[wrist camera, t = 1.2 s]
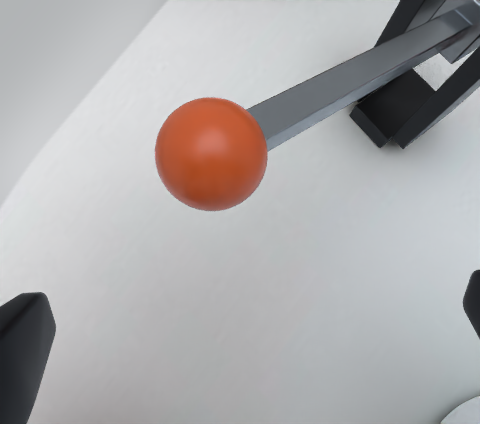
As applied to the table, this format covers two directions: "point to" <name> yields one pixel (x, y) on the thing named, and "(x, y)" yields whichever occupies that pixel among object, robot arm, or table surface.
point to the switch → (291, 112)
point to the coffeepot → (465, 413)
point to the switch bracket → (413, 87)
